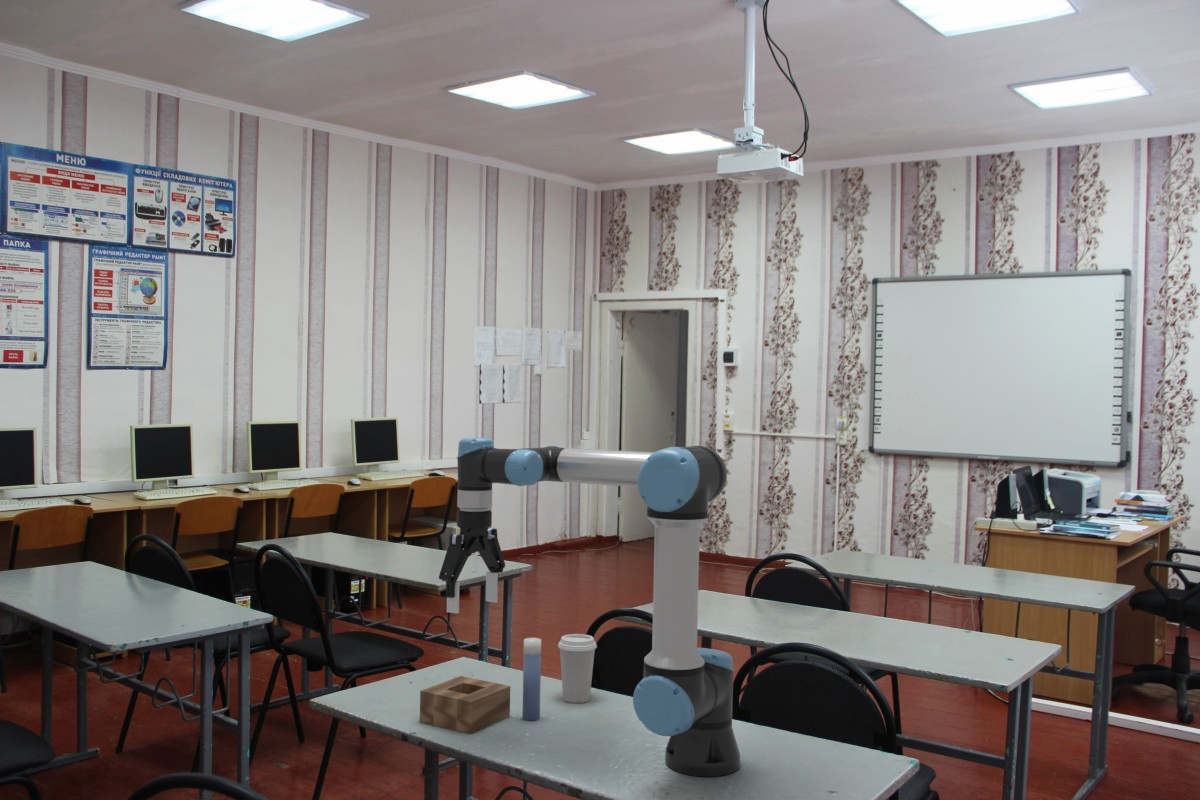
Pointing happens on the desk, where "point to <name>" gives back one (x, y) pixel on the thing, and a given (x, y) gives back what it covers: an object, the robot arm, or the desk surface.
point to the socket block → (465, 704)
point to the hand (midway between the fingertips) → (472, 607)
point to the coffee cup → (576, 666)
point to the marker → (531, 679)
